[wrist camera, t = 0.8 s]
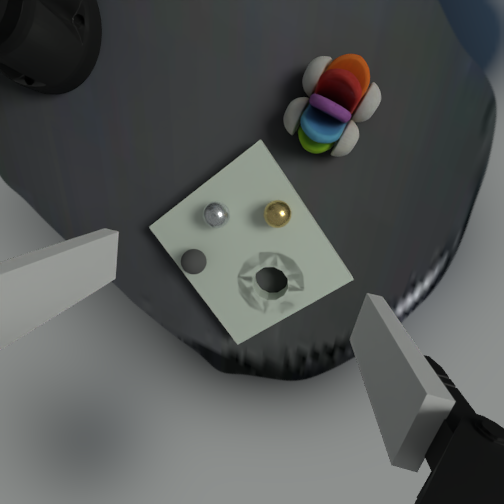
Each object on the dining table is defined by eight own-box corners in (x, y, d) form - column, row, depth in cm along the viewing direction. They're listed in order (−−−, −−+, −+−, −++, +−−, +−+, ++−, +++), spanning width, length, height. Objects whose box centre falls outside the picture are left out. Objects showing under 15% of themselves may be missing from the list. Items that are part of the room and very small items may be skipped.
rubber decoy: (181, 254, 37) (171, 261, 34) (199, 241, 37) (191, 247, 34) (196, 274, 38) (187, 282, 35) (214, 261, 37) (207, 269, 34)
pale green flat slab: (157, 223, 40) (148, 227, 37) (263, 141, 35) (260, 139, 32) (240, 335, 42) (237, 344, 40) (350, 272, 37) (353, 279, 35)
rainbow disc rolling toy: (385, 88, 32) (410, 64, 25) (337, 169, 34) (347, 167, 27) (318, 52, 32) (324, 17, 25) (276, 135, 35) (270, 125, 28)
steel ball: (202, 209, 36) (193, 213, 32) (222, 194, 35) (215, 196, 32) (217, 230, 36) (210, 235, 33) (237, 216, 35) (232, 220, 32)
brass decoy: (259, 208, 34) (256, 212, 31) (281, 193, 34) (280, 195, 30) (274, 230, 35) (272, 235, 32) (297, 215, 34) (297, 219, 31)
